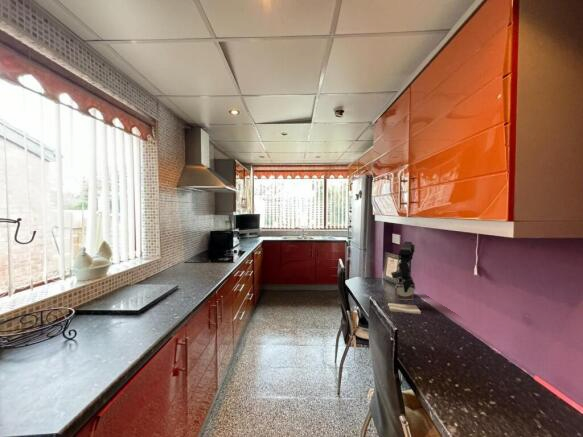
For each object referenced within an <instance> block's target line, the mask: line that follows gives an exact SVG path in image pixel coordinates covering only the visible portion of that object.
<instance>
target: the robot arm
mask: <svg viewBox="0 0 583 437" xmlns="http://www.w3.org/2000/svg"><path fill="white" fill-rule="evenodd" d="M415 250H416V247H415V244H413V243H412V241H404V242H403V244H402V246H401V248H400V249H399V252H398V260H400V262H399V264H398V268H399V269H398V270H397V271H392V272H391V273H390V274H391V277H392V279H393V280H395V279H398V280H399V281H400V282H401V283H402V284H403V285H404V292H405V293H406V292H407V291H408V289H409V287H410V286H411V284H414V285H415V284H416V283H415V282H414V279H413V277H412V260H413V257H414V254H415V252H416V251H415ZM415 288H416V287H415ZM415 288H414V291H415V290H416V289H415Z"/></svg>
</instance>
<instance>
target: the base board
mask: <svg viewBox="0 0 583 437" xmlns="http://www.w3.org/2000/svg"><path fill="white" fill-rule="evenodd" d="M387 306H388V308H389V310H390V312H396V313H406V314H419V315H421V314H422V311H421V310H420V309H419V307H418V306H417V305H415V304H403V303H392V302H388V303H387Z"/></svg>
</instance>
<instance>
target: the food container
mask: <svg viewBox="0 0 583 437" xmlns="http://www.w3.org/2000/svg"><path fill="white" fill-rule="evenodd" d="M414 284H415V283H414ZM414 284H411V286H410V287H409V289H408V291H407V292H406V293H405V292H404V285H403V284H402V283H401V281H400V282H397V283H396V284H395V287H394V288H395V289H396V296H397V300H405V301H407V300H410V301H413V300H414V295H415V294H414V293H415V290H416V286H415V285H414ZM414 288H415V290H414Z"/></svg>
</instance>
